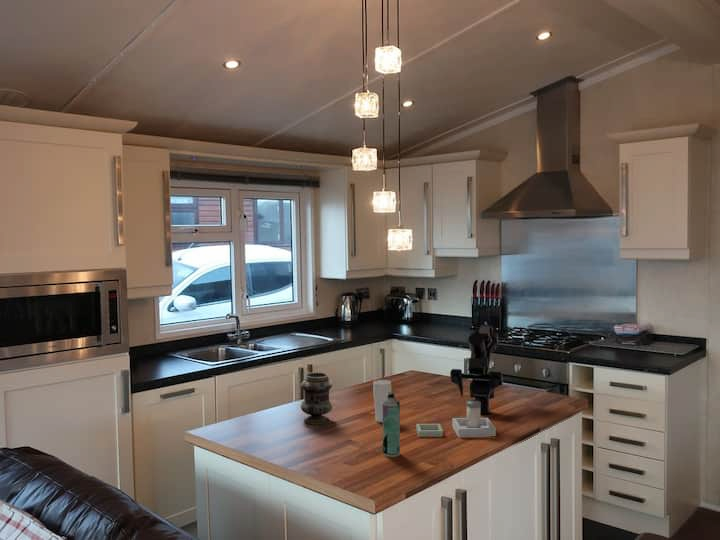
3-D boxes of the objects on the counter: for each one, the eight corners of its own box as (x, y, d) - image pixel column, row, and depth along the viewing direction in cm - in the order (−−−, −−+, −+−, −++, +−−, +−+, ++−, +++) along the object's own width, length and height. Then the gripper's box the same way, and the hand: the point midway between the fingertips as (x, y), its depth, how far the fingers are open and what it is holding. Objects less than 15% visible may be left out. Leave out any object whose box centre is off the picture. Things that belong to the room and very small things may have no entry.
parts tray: (452, 426, 230) (452, 418, 230) (487, 425, 231) (487, 417, 230) (458, 437, 217) (458, 429, 217) (495, 437, 218) (495, 428, 217)
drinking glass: (370, 419, 239) (370, 380, 238) (387, 417, 242) (386, 379, 241) (377, 424, 233) (377, 384, 232) (394, 422, 235) (394, 383, 235)
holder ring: (416, 429, 227) (416, 423, 227) (439, 429, 227) (439, 423, 227) (418, 436, 218) (418, 431, 218) (443, 436, 218) (443, 431, 218)
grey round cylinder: (463, 428, 225) (463, 401, 224) (474, 426, 227) (474, 399, 227) (472, 432, 221) (472, 404, 220) (483, 430, 223) (483, 402, 222)
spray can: (398, 451, 204) (398, 390, 203) (400, 457, 199) (400, 395, 198) (382, 451, 204) (382, 391, 203) (383, 457, 199) (383, 395, 197)
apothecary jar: (328, 426, 231) (327, 378, 230) (296, 424, 233) (296, 377, 232) (335, 417, 243) (335, 371, 242) (306, 415, 245) (305, 370, 244)
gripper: (450, 347, 232) (446, 383, 223) (502, 350, 227) (499, 387, 217) (454, 364, 240) (449, 399, 231) (503, 366, 235) (501, 403, 225)
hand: (474, 397), depth 226 cm, fingers open, 9 cm apart
